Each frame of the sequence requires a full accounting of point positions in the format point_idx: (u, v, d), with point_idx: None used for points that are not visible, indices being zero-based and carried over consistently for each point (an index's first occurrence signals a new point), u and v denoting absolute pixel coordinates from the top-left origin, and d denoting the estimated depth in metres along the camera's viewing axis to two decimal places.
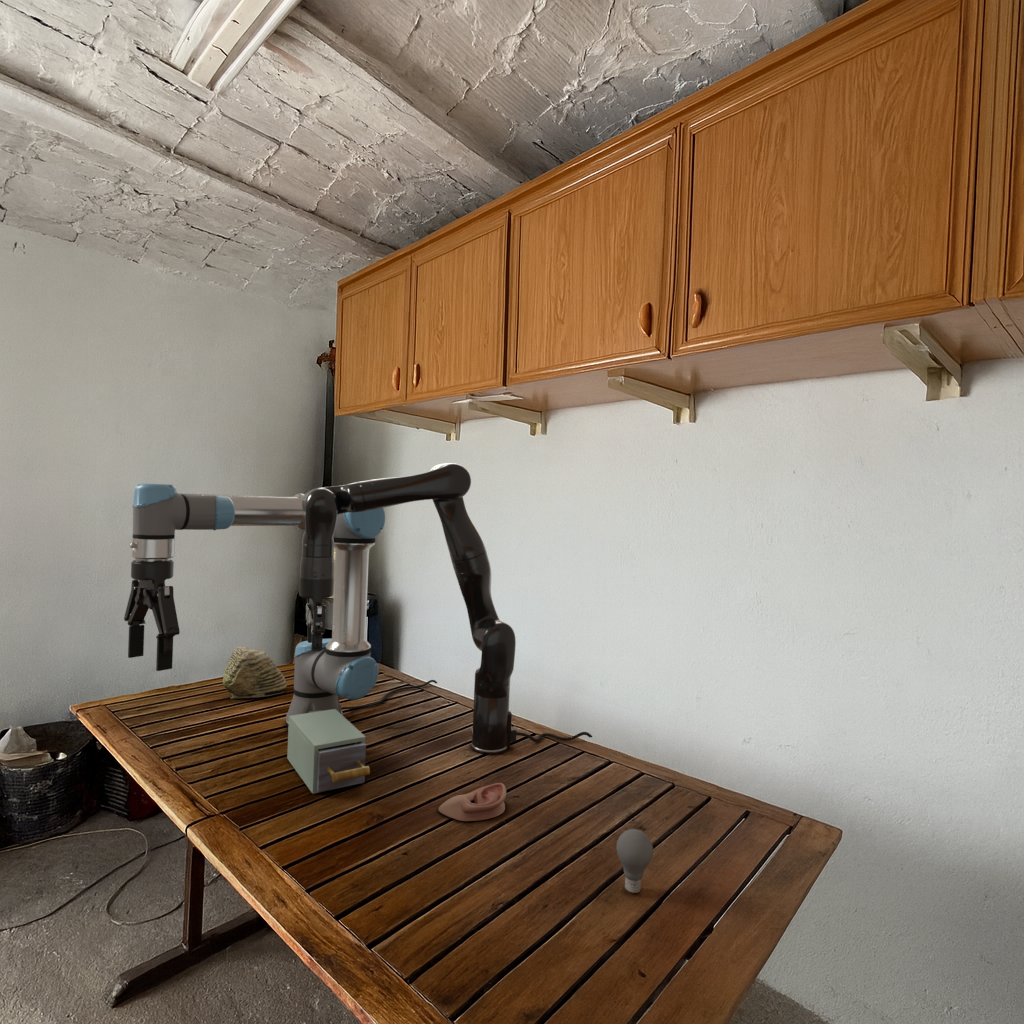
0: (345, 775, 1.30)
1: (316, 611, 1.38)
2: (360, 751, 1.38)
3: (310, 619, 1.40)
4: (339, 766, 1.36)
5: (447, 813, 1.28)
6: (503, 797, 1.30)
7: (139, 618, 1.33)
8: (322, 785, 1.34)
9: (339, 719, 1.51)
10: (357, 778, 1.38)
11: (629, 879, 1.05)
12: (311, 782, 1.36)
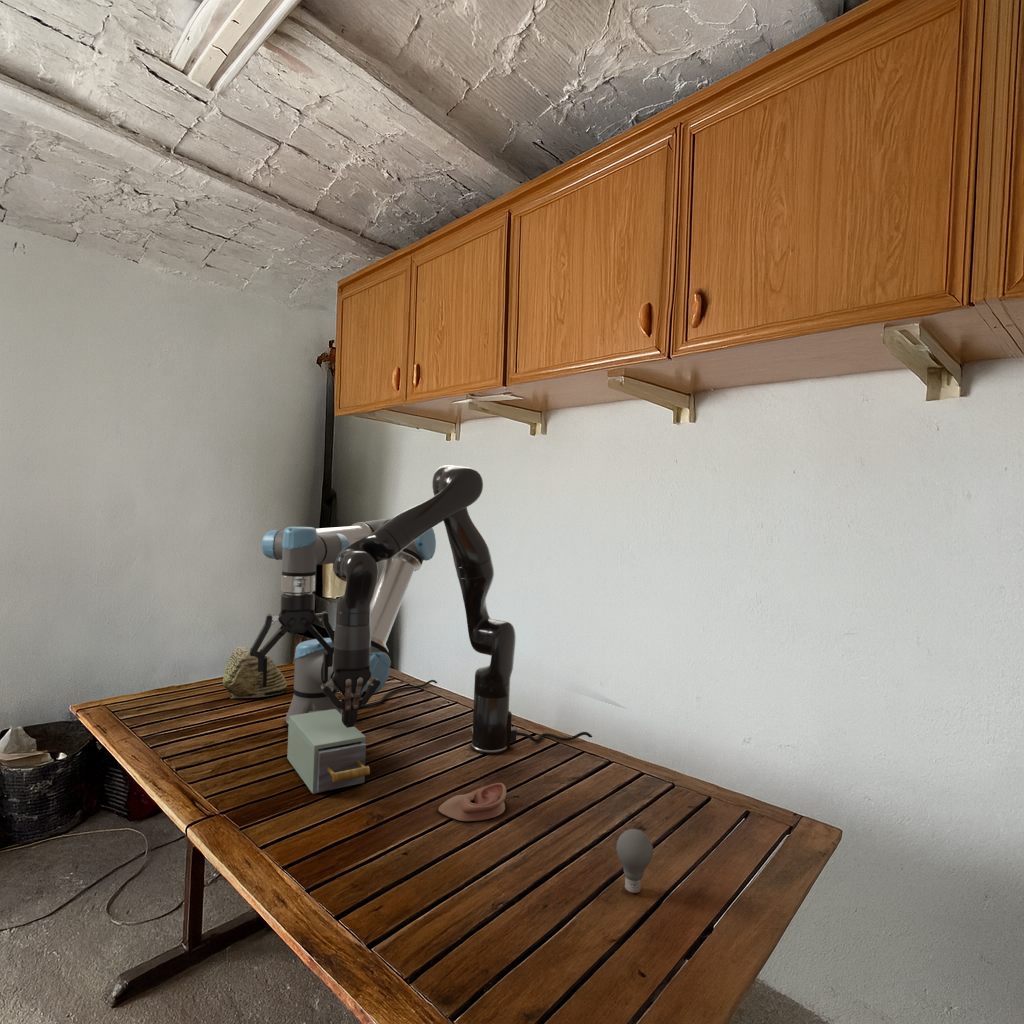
0: (345, 775, 1.30)
1: None
2: (360, 751, 1.38)
3: (340, 692, 1.34)
4: (339, 766, 1.36)
5: (447, 813, 1.28)
6: (503, 797, 1.30)
7: None
8: (322, 785, 1.34)
9: (339, 719, 1.51)
10: (357, 778, 1.38)
11: (629, 879, 1.05)
12: (311, 782, 1.36)
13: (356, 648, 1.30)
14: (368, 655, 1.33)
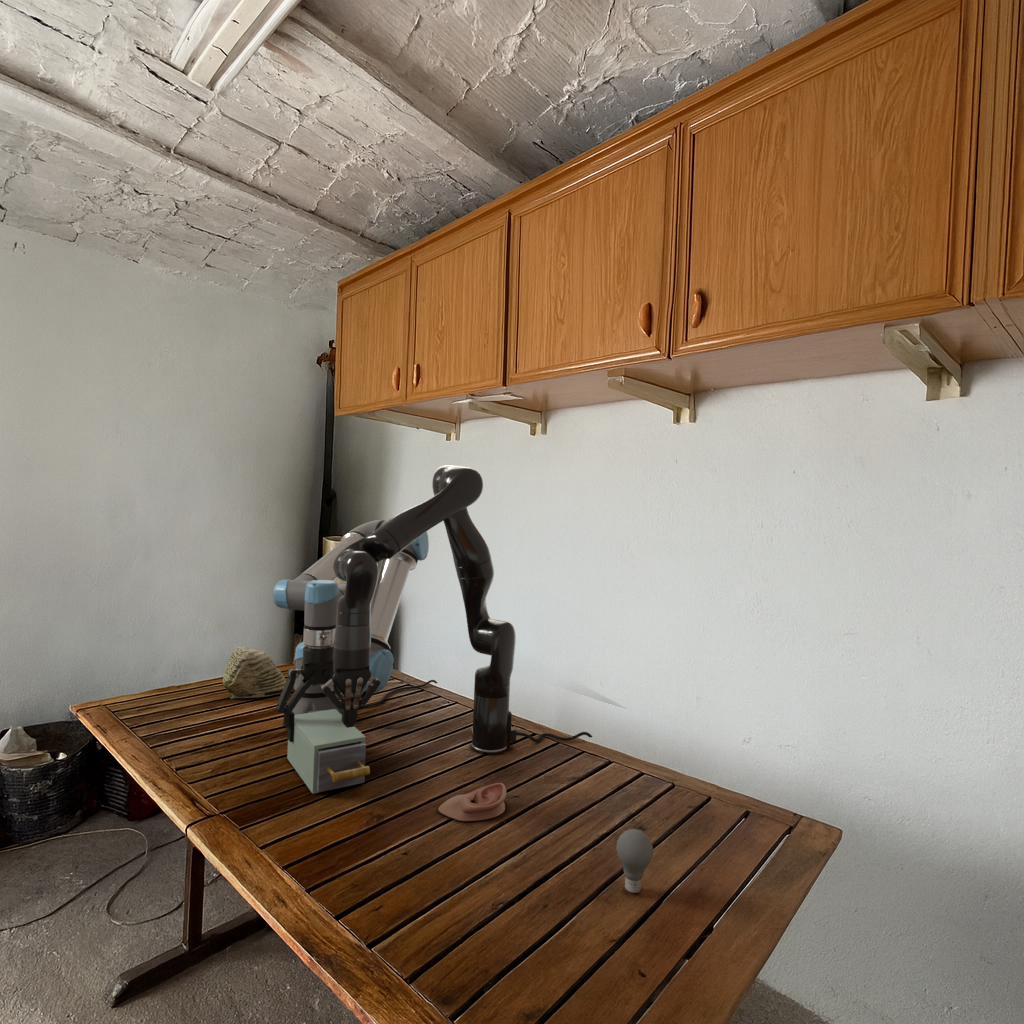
0: (345, 775, 1.30)
1: (323, 691, 1.31)
2: (360, 751, 1.38)
3: (340, 692, 1.34)
4: (339, 766, 1.36)
5: (447, 813, 1.28)
6: (503, 797, 1.30)
7: None
8: (322, 785, 1.34)
9: (339, 719, 1.51)
10: (357, 778, 1.38)
11: (629, 879, 1.05)
12: (311, 782, 1.36)
13: (356, 648, 1.30)
14: (368, 655, 1.33)
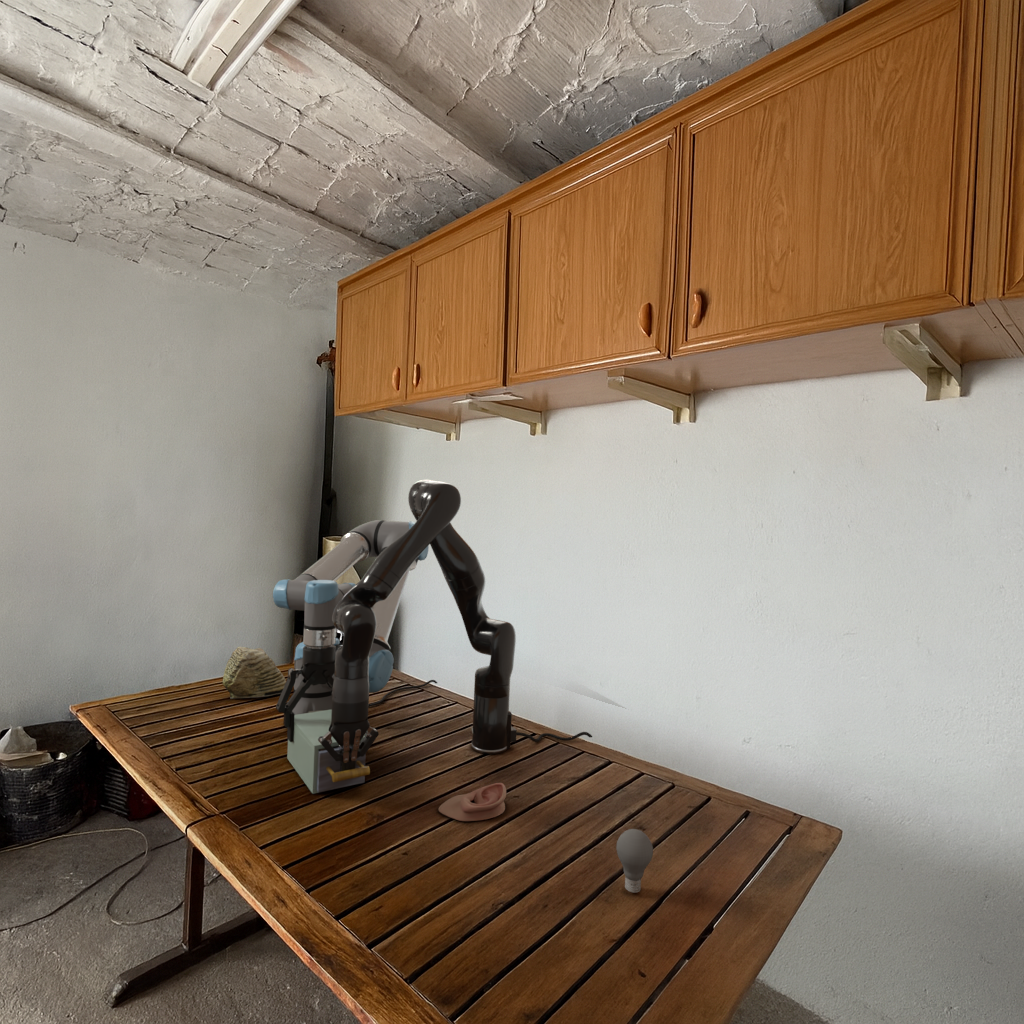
0: (345, 775, 1.30)
1: None
2: None
3: (338, 743, 1.34)
4: (339, 766, 1.36)
5: (447, 813, 1.28)
6: (503, 797, 1.30)
7: None
8: (322, 785, 1.34)
9: None
10: (357, 778, 1.38)
11: (629, 879, 1.05)
12: (311, 782, 1.36)
13: (354, 701, 1.30)
14: (366, 707, 1.33)
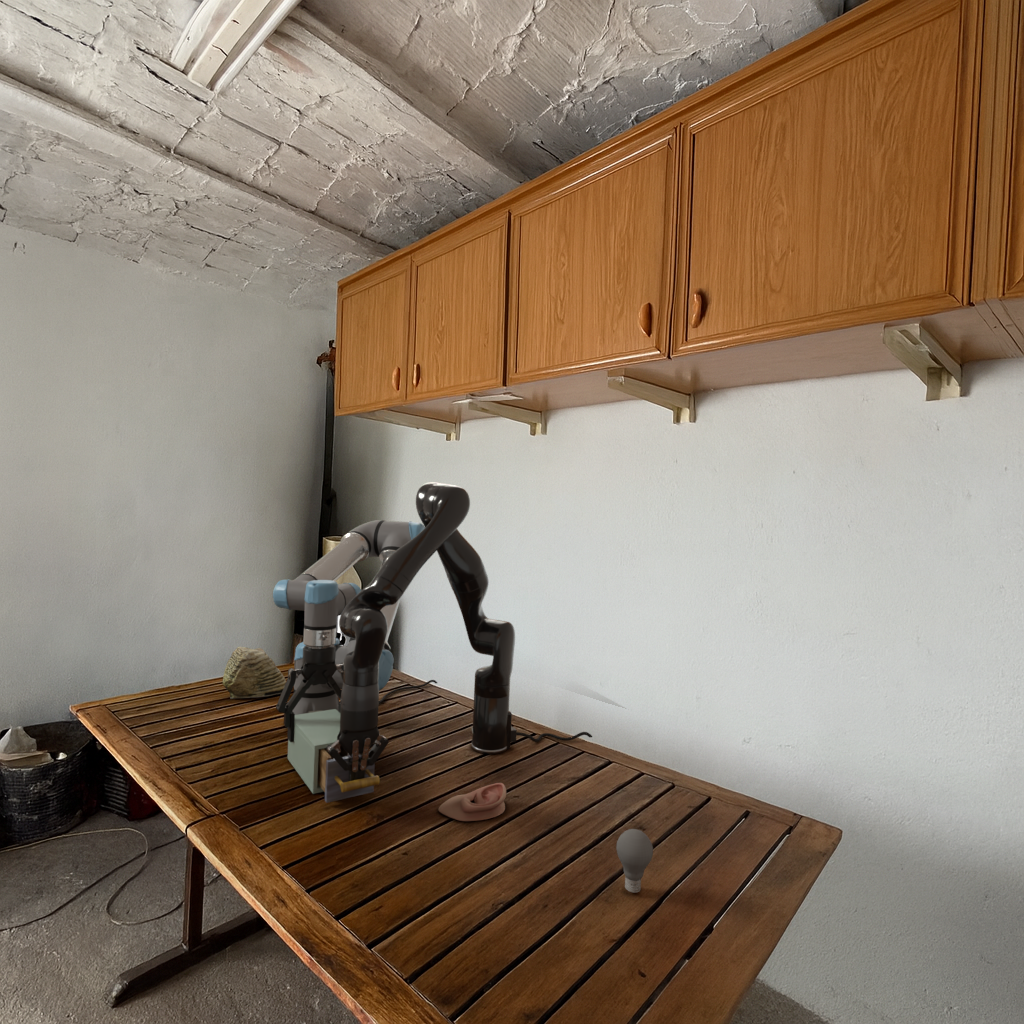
0: (354, 785, 1.26)
1: None
2: None
3: (347, 752, 1.29)
4: (348, 776, 1.31)
5: (447, 813, 1.28)
6: (503, 797, 1.30)
7: None
8: (330, 795, 1.30)
9: (339, 719, 1.51)
10: (366, 787, 1.34)
11: (629, 879, 1.05)
12: (311, 782, 1.36)
13: (364, 709, 1.25)
14: (376, 715, 1.28)
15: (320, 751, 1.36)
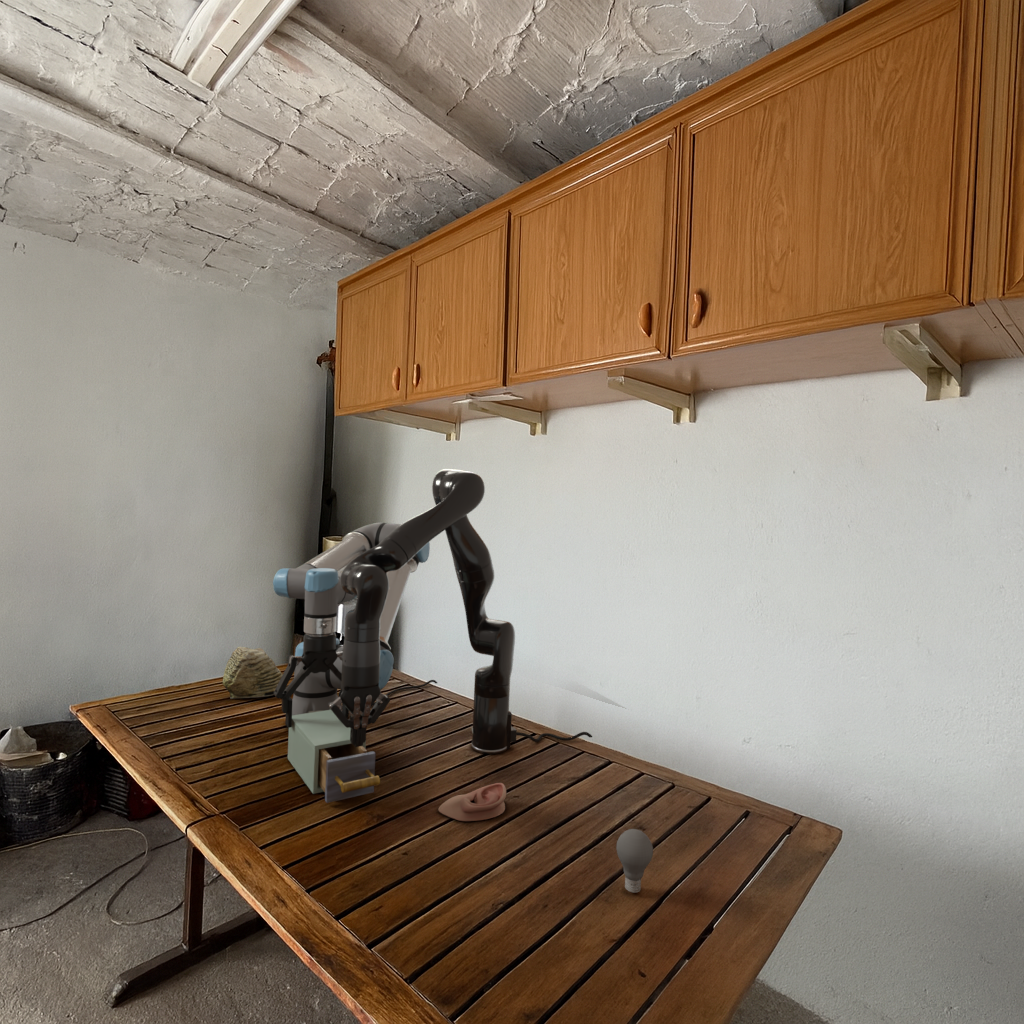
0: (354, 785, 1.26)
1: (330, 709, 1.26)
2: (369, 760, 1.34)
3: None
4: (348, 776, 1.31)
5: (447, 813, 1.28)
6: (503, 797, 1.30)
7: None
8: (330, 796, 1.30)
9: None
10: (366, 788, 1.34)
11: (629, 879, 1.05)
12: (311, 782, 1.36)
13: (365, 665, 1.26)
14: (377, 672, 1.28)
15: (320, 751, 1.36)
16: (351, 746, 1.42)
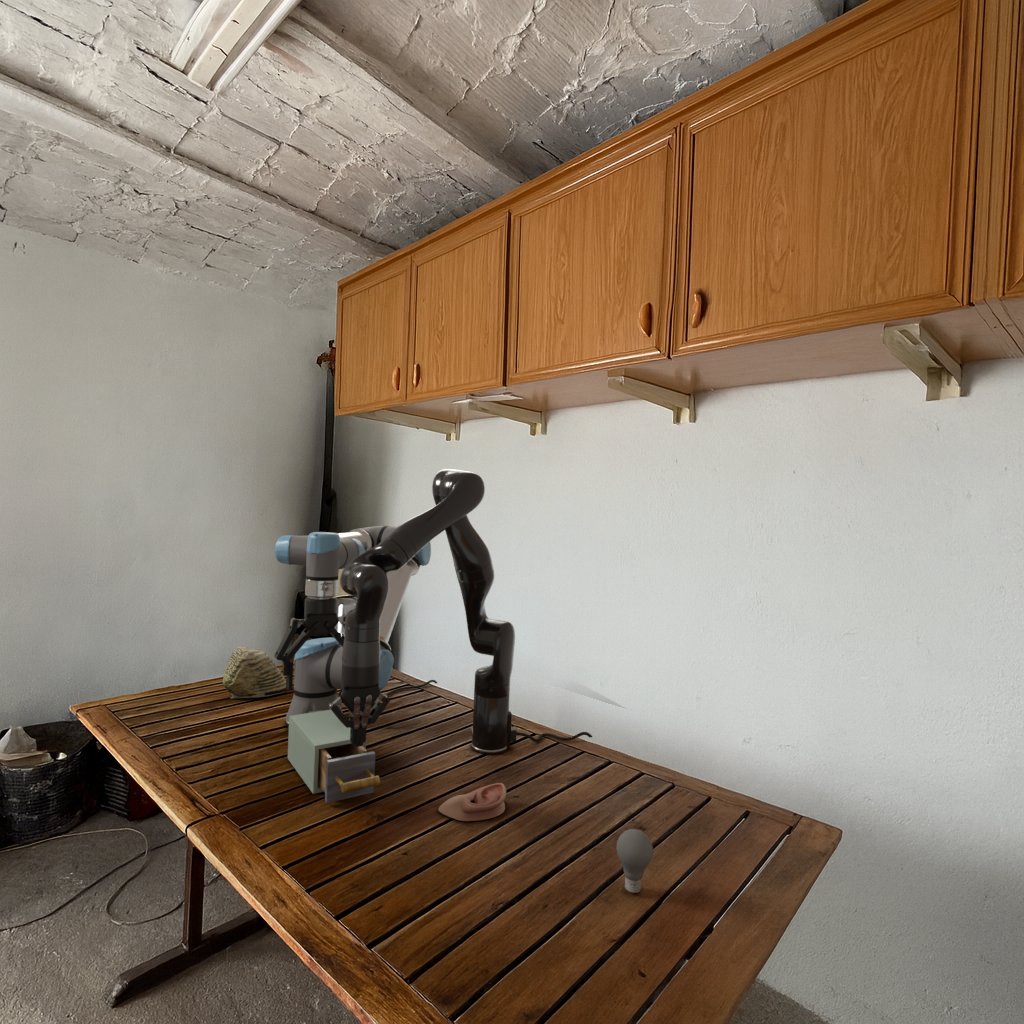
0: (354, 785, 1.26)
1: (330, 709, 1.26)
2: (369, 760, 1.34)
3: None
4: (348, 776, 1.31)
5: (447, 813, 1.28)
6: (503, 797, 1.30)
7: None
8: (330, 796, 1.30)
9: None
10: (366, 788, 1.34)
11: (629, 879, 1.05)
12: (311, 782, 1.36)
13: (365, 665, 1.26)
14: (377, 672, 1.28)
15: (320, 751, 1.36)
16: (351, 746, 1.42)
